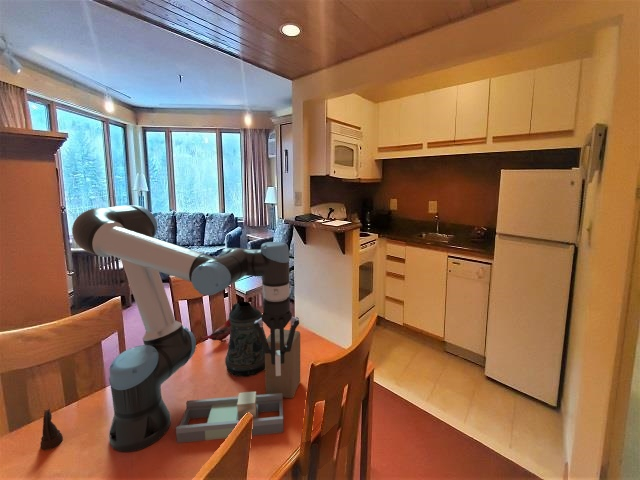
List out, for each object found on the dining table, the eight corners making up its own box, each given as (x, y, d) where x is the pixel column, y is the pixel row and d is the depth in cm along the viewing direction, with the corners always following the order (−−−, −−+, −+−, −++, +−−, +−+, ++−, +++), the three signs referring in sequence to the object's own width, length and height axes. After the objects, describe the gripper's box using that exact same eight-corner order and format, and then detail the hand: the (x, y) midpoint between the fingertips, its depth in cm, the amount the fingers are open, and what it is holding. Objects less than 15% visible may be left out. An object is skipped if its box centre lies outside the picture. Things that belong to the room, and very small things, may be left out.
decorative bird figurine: (238, 337, 142) (237, 317, 140) (202, 353, 129) (201, 330, 127) (234, 335, 144) (233, 315, 142) (198, 350, 130) (197, 328, 129)
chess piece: (64, 433, 87) (59, 402, 85) (61, 446, 83) (55, 414, 81) (42, 440, 85) (36, 408, 83) (38, 454, 80) (32, 421, 79)
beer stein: (253, 382, 110) (251, 317, 106) (210, 369, 117) (206, 308, 113) (276, 358, 125) (275, 300, 121) (236, 348, 133) (234, 293, 128)
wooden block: (293, 400, 102) (292, 344, 98) (264, 395, 103) (263, 341, 100) (301, 381, 111) (301, 330, 107) (274, 377, 113) (273, 327, 109)
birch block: (237, 419, 89) (237, 404, 88) (239, 407, 94) (239, 392, 93) (255, 418, 90) (254, 402, 89) (256, 405, 95) (256, 391, 94)
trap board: (177, 442, 84) (175, 428, 84) (188, 413, 95) (187, 400, 94) (283, 432, 88) (283, 418, 88) (282, 405, 99) (282, 392, 98)
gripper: (251, 303, 82) (254, 383, 86) (300, 301, 84) (301, 379, 88) (253, 293, 89) (256, 367, 93) (298, 291, 91) (299, 364, 95)
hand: (278, 373), depth 91 cm, fingers closed
